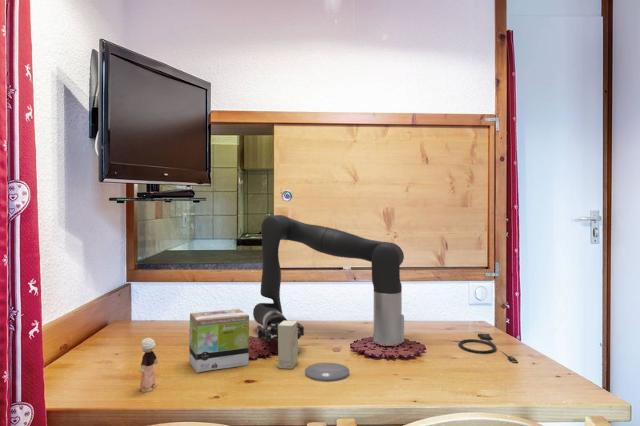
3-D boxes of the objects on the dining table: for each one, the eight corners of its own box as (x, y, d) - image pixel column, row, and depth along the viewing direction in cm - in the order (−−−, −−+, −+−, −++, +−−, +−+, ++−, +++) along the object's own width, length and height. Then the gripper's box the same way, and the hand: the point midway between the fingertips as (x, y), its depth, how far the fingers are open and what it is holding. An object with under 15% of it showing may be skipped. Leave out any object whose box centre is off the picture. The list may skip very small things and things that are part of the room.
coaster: (341, 363, 133) (341, 361, 133) (355, 378, 121) (355, 375, 121) (300, 367, 130) (300, 364, 129) (311, 383, 118) (311, 380, 118)
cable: (471, 364, 134) (471, 358, 134) (449, 336, 162) (449, 332, 162) (518, 364, 133) (518, 359, 133) (489, 337, 161) (489, 333, 161)
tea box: (196, 374, 124) (196, 319, 124) (188, 363, 133) (188, 312, 133) (249, 365, 131) (249, 314, 131) (239, 355, 140) (238, 307, 140)
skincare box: (292, 369, 128) (292, 326, 128) (277, 368, 129) (277, 325, 129) (298, 362, 134) (298, 320, 134) (283, 361, 135) (283, 319, 135)
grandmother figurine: (144, 383, 118) (144, 334, 118) (159, 383, 118) (159, 334, 118) (135, 395, 110) (134, 343, 110) (151, 395, 110) (151, 342, 110)
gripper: (253, 313, 151) (260, 326, 135) (296, 311, 154) (307, 322, 139) (253, 336, 151) (260, 351, 135) (296, 333, 154) (307, 347, 139)
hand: (284, 337), depth 137 cm, fingers open, 8 cm apart
